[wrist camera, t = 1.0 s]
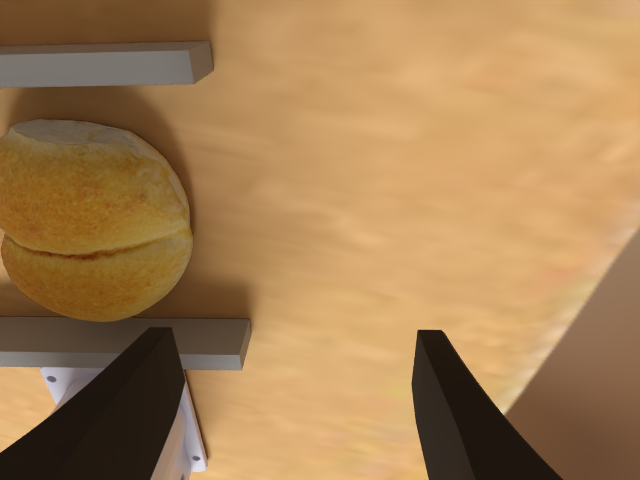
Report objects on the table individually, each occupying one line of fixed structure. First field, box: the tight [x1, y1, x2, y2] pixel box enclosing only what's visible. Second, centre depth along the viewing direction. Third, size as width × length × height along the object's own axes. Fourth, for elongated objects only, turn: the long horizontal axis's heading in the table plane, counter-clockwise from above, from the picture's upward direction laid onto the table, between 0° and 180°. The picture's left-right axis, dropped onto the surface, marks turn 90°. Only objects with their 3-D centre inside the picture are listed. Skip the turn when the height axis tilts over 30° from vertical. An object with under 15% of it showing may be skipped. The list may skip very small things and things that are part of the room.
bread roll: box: [0, 119, 193, 322], centre depth 18 cm, size 8×9×4 cm
